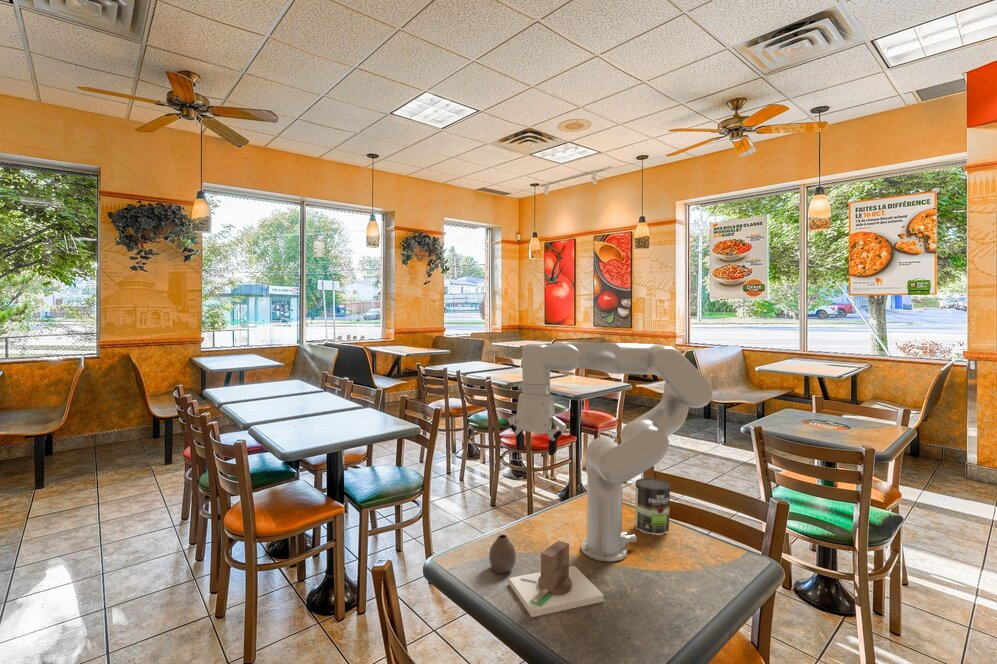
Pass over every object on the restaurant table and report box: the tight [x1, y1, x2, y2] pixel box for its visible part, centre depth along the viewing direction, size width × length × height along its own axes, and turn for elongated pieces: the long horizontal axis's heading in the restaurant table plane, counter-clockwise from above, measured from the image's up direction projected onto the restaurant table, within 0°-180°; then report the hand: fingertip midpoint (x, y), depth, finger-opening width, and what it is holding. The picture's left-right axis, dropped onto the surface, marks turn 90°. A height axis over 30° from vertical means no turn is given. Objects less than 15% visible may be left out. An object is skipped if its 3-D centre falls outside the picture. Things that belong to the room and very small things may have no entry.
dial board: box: [508, 565, 605, 618], centre depth 117 cm, size 18×14×2 cm
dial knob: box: [533, 540, 572, 603], centre depth 115 cm, size 13×8×9 cm, turn 143°
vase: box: [488, 534, 517, 574], centre depth 128 cm, size 7×7×9 cm
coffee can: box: [634, 477, 671, 535], centre depth 153 cm, size 10×10×14 cm
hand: (536, 451), depth 135 cm, fingers open, 9 cm apart
